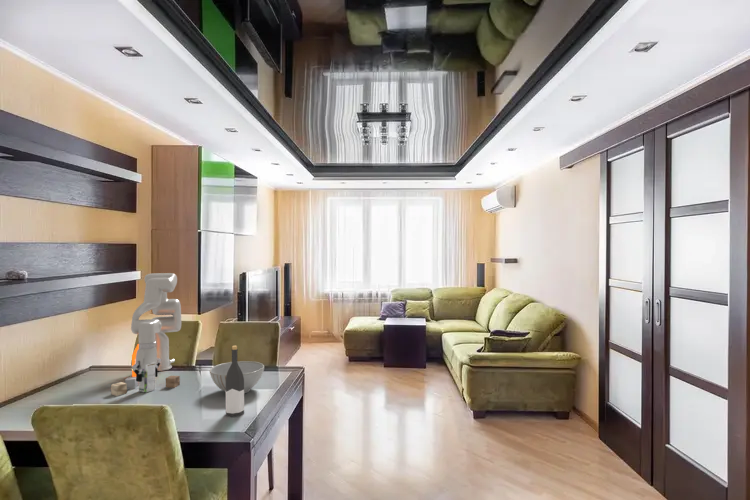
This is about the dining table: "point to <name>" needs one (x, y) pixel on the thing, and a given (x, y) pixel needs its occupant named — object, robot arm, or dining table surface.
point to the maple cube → (118, 389)
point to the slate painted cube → (131, 382)
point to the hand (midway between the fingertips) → (147, 378)
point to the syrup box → (148, 378)
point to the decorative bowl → (248, 368)
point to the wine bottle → (234, 388)
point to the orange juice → (134, 359)
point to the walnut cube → (172, 381)
